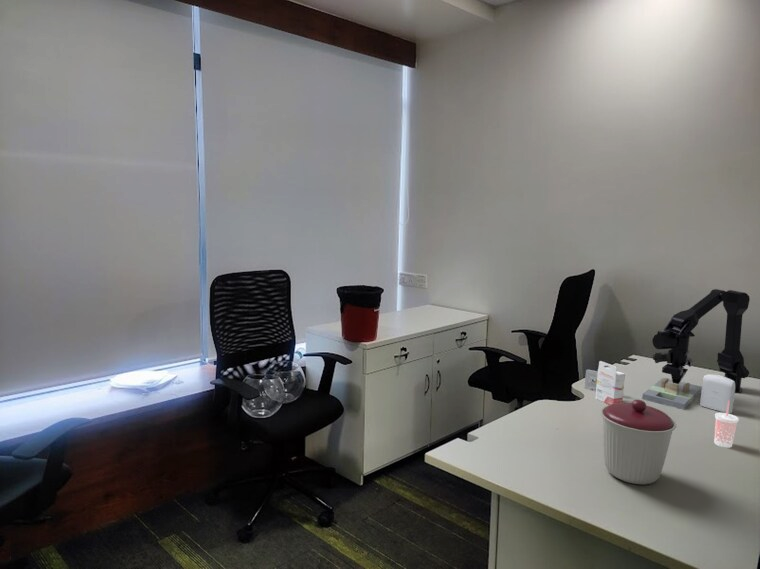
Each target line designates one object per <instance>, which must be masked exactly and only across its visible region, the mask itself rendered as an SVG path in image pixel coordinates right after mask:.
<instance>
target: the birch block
mask: <svg viewBox="0 0 760 569" xmlns="http://www.w3.org/2000/svg"><path fill="white" fill-rule="evenodd" d="M679 388H680V384H676V383H672V382H667V383H666V384H665V391H664V392H667V393H671V394H675V395H676V394H677V393H678V392H679Z"/></svg>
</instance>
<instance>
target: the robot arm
mask: <svg viewBox="0 0 760 569" xmlns="http://www.w3.org/2000/svg"><path fill="white" fill-rule="evenodd" d="M748 294H749V293H747V292H742V291H737V290H733V289H728V290H727V291H726V290H724V289H718V288H715V289H714V288H713V289H712V290H711V291H710V292H709V293H708V294H707V295H705V297H703V298H702V299H700V300H699V301H698V302H696V303H695V304H694V305H692V306H691V307H690V308H688V309H685V310H680V311H679V312H677V313H675V314H673V315H672V317H671V319H670V320H669V322H668V323H667V324H666V326H665V327H664V329H663V330H658V331H657V333H656V334H655V335H654V336H653V338H652V342H651V343H652V346H653V347H654V348H655V350H668V351H662V352H660V351H659V352H655V353H654V354H652V357H653V358H652V360H653V361H654V363H655V364H658V363H663V362H666V364H665V365H663V366H662V367H661V368H662V369H661V373H663V374H667V375H670V376H671V380H672V382H673V383H676V384H679V383H680V382H682V379H684V377H685V375H686V373H687V372H688V370H689V369H688V368H685V367H686V366H688V367H690V368H691V367H692V366H693V361H694V360H693V359H692V358H690V357H688V355H689V354H690V350H689V345H690V337H695V336H696V335H695V333H693V332H692V331H693V330H694V329H695V328H696V327H697V325H699V321H700V319H701V318H703V317H704V316H705V315H706V314H708V313H709V312H711V310H713V309H714V308H716V307H717V306H718V305H719V304H721V303H722V306H723V308H724V310H725V312H726V323H725V324H726V325H725V336H724V337H725V338H724V349H722V350H721V352H717V360H716V362H717V365H718V367H719V372H722V373H724V376H723V377H726V378H729V379H731V380H733V381H734V382H735V393H738V394H740V393H741V392H742V390H743V387H741V385H742V380H743V379H746V378H748V377H749V375H750V371H749V369H747V367H746V366H745V359H744V355H743V354H742V352H741V351H740V349H741V337H742V328H743V327H742V324H743V315H744V314H745V313H746V311H747V310H748V308H749V305H750V295H748Z"/></svg>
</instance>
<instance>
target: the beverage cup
mask: <svg viewBox="0 0 760 569" xmlns="http://www.w3.org/2000/svg"><path fill="white" fill-rule="evenodd" d="M729 404H730V401H729V400H728V405H727V412H726V413H725V412H716V413H715V414H714V418H715V423H714V439H713V443H714V444H715V445H716V446H718V447H722V448H728V449H729V448H732V447H733V442H734V439H735V435H736V434H735V433H736V429H737V424H738V423H739V420H740V417H738V416H736V415H733V414H732V413H728V411H729Z"/></svg>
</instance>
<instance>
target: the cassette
mask: <svg viewBox="0 0 760 569" xmlns="http://www.w3.org/2000/svg"><path fill="white" fill-rule="evenodd" d="M597 374H598V370H591V369H586V370H585V378H584V389H586V390H589V391H593V392H596V385H597Z"/></svg>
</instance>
